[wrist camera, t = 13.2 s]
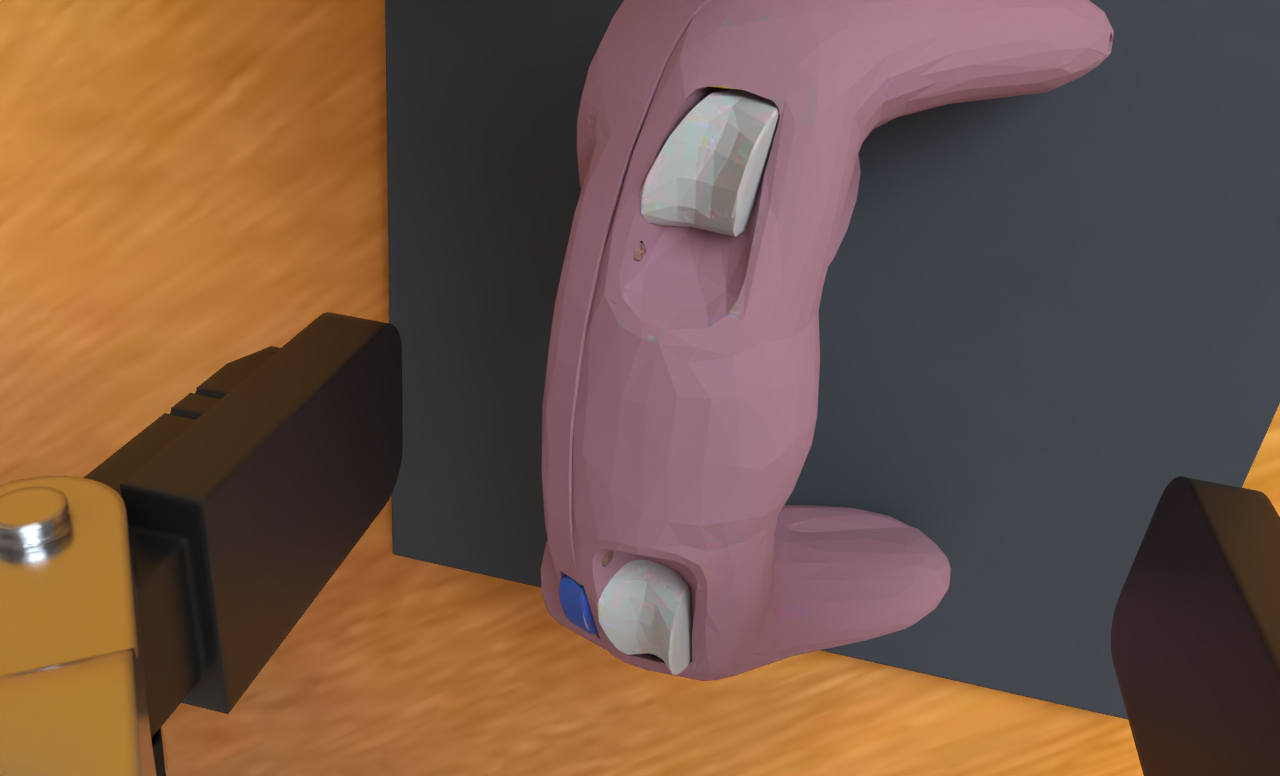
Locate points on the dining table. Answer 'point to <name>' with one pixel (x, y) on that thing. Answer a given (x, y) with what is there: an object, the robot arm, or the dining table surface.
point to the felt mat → (887, 314)
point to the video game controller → (740, 315)
